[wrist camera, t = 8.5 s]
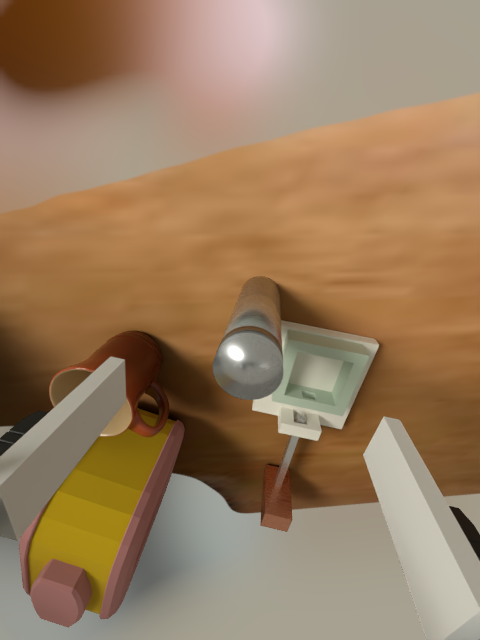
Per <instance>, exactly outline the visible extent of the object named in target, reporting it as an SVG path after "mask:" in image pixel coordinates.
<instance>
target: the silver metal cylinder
mask: <svg viewBox="0 0 480 640" xmlns="http://www.w3.org/2000/svg"><path fill="white" fill-rule="evenodd" d="M213 374H214V377H215V380H216V381H217V383H218V385H219V386H220V387H221V388H222V389H223V390H224V391H225V392H227V393H228V394H230V395H232V396H234V397H237V398H240V399H245V400H256V399H261V398H264V397H267V396H269V395H270V394H272V393H273V392H274V391H275V390H277V388H278V387H279V386H280V384H281V382H282V379H283V351H282V333H281V312H280V293H279V289H278V287H277V285H276V284H275V282H274V281H272V280H271V279H269V278H267V277H262V276H258V277H254V278H251V279H250V280H248V281H247V282H246V283H245V284H244V286H243V288H242V290H241V293H240V295H239V298H238V301H237V303H236V306H235V308H234V311H233V313H232V316H231V318H230V321H229V323H228V326H227V328H226V331H225V334H224V336H223V339H222V341H221V343H220V345H219V348H218V350H217V353H216V356H215V359H214V362H213Z"/></svg>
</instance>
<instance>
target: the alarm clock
mask: <svg viewBox="0 0 480 640" xmlns="http://www.w3.org/2000/svg"><path fill="white" fill-rule="evenodd" d="M137 409H138V408H137ZM138 411H139V413H140V415H141V418H142V419H143V421H144V422H145V423H146V424H148V425H150V426H152V427H154V426H155V424H156V421H157V418H158V415H156V414H153V413H150V412H147V411H144V410H141V409H138ZM184 429H185V428H184V426H183V423H182V422H181V421H179V420H177V421H173V420H170V419H168V418H167V421H166V423H165V425H164V427H163V429H162V430H161V431H160V432H159V433H158V434H157V435H155V436H153V437H143V436H141V435H139V434H137V433H135V432H133V431H131V430H130V429H127V430H126V431H125V432H123V433H122V434H120V435H118V436H113V437H99V436H98V438H97V439H96V440H95V442H94V443H93V444H92V446H91V447H90V448H89V449H88V451H87V452H86V453H85V455H84V456H83V457H82V458H81V460H80V461H79V462H78V464H77V465H76V466H75V467H74V469H73V470H72V471H71V473H70V474H69V475H68V476H67V478H66V479H65V480H64V482H63V483H62V484H61V486H60V487H59V488H58V489H57V491H56V492H55V493H54V495H53V496H52V497H51V498H50V500H49V501H48V502H47V504H46V505H45V506H44V507H43V509H42V510H41V511H40V513H39V514H38V515H37V516H36V518H35V519H34V520H33V522H32V523H31V524H30V526H29V527H28V528H27V529H26V531H25V532H24V533H23V535H22V536H21V538H20V543H19V550H20V561H21V571H22V582H23V588H24V589H25V591H26V593H27V594H29V595H30V596H31V599H32V603H33V606H34V608H35V610H36V612H37V614H38V615H39V616H40V618H41V619H44V620H47V621H50V622H54V623H56V624H59V625H63V626H66V627H70V626H71V625H73V624H74V623H76V622H77V621H79V619H80V618H81V617H82V615H83V613H84V611H85V610H88V611H91V612H95V613H98V614H100V618H101V619H108V618H109V617H111V616H112V615H113V614H114V613H116V611H117V610H118V608H119V607H120V605H121V603H122V602H123V599H124V597H125V595H126V592H127V590H128V587H129V585H130V582H131V580H132V577H133V574H134V572H135V569H136V567H137V564H138V561H139V559H140V556H141V554H142V551H143V549H144V546H145V543H146V541H147V538H148V536H149V533H150V530H151V528H152V525H153V522H154V520H155V517H156V514H157V512H158V509H159V507H160V504H161V501H162V499H163V496H164V493H165V491H166V488H167V485H168V482H169V479H170V477H171V474H172V471H173V468H174V465H175V462H176V459H177V456H178V452H179V449H180V446H181V443H182V440H183V437H184Z"/></svg>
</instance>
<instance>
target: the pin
mask: <svg viewBox="0 0 480 640" xmlns="http://www.w3.org/2000/svg"><path fill="white" fill-rule="evenodd" d="M295 422H296V423H301V424H304V422H305V415H304V414H299V413H297V416H296V419H295ZM298 439H299V437H297V436H293V435H290V437H289V440H288V442H287V445H286V448H285V451H284V454H283V457H282V460H281V463H280V466H279V467H276V466H271V465H267V464H266V467H265V471H264V474H263V484H262V506H261V526H265V527H269V528H273V529H277V530H282V531H286V532H287V531H288V528H289V526H290V524H291V521H292V507H291V488H290V470H289V469H288V466H289V464H290V461H291V458H292V455H293V453H294V450H295V447H296V444H297V442H298Z"/></svg>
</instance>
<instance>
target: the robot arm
mask: <svg viewBox="0 0 480 640" xmlns="http://www.w3.org/2000/svg"><path fill="white" fill-rule="evenodd" d="M125 402H126V380H125V360H124V359H120V358H115V357H110V358H108V359H107V360H106V361H105V362H104V363H103V364H102V365H101V366H100V367H98V368H97V369H96V370H95V371H94V372H93V373H92V374H91V375H90V376H89V377H87V378H86V379H85V380H84V381H83V382H82V383H81V384H80V385H79V386H78V387H76V388H75V389H74V390H73V391H72V392H71V393H70V394H69V395H68V396H66V397H65V398H64V399H63V400H62V401H61V402H60V403H59V404H58V405H57V406H55V407H54V408H53V409H52V410H51V411H50V412H49V413H47V412H43V411H37V412H35V413H33V414H31V415H29V416H27V417H25V418H24V419H22V420H21V421H20V422H19V423H17V424H16V425H15V426H14V427H13V428H12V429H10V431H9V432H7V433H5V434H4V435H3V436H2V437H1V438H0V536H2V537H5V538H9V539H13V540H16V541H18V540H19V538H20V537H21V536H22V535H23V533H24V532H25V531H26V529H27V528H28V527H29V526H30V524H31V523H32V522H33V520H34V519H35V518H36V516H37V515H38V514H39V513H40V511H41V510H42V509H43V507H44V506H45V505H46V504H47V502H48V501H49V500H50V498H51V497H52V496H53V495H54V493H55V492H56V491H57V489H58V488H59V487H60V486H61V484H62V483H63V482H64V480H65V479H66V478H67V476H68V475H69V474H70V473H71V471H72V470H73V469H74V467H75V466H76V465H77V464H78V462H79V461H80V460H81V458H82V457H83V456H84V455H85V453H86V452H87V451H88V449H89V448H90V447H91V446H92V444H93V443H94V442H95V440H96V439H97V438H98V436H99V435H100V434H101V433H102V431H103V430H104V429H105V427H106V426H107V425H108V424H109V422H110V421H111V420H112V418H113V417H114V416H115V415H116V413H117V412H118V411H119V409H120V408H121V407H122V405H123V404H124V403H125ZM363 456H364V458H365V461H366V464H367V467H368V470H369V473H370V476H371V479H372V482H373V485H374V488H375V491H376V494H377V497H378V499H379V502H380V505H381V508H382V511H383V514H384V517H385V520H386V523H387V526H388V529H389V532H390V535H391V538H392V540H393V543H394V546H395V549H396V552H397V555H398V558H399V561H400V564H401V567H402V570H403V573H404V576H405V579H406V581H407V584H408V587H409V590H410V593H411V596H412V599H413V602H414V605H415V608H416V611H417V613H418V617H419V620H420V623H421V626H422V628H423V631H424V634H425V637H426V640H480V535H479V533H478V531H477V529H476V528H475V526H474V525H473V524H472V522H471V521H470V520H469V519H468V518H467V517H466V516H465V515H464V514H463V512H462V511H461V510H460V509H459V508H455V507H451V506H448V504H447V502H446V501H445V499H444V497H443V495H442V494H441V492H440V490H439V488H438V486H437V485H436V483H435V481H434V479H433V478H432V476H431V474H430V472H429V471H428V469H427V467H426V465H425V464H424V462H423V460H422V458H421V456H420V455H419V453H418V451H417V449H416V448H415V446H414V444H413V442H412V441H411V439H410V437H409V435H408V433H407V432H406V430H405V428H404V426H403V425H402V423H401V421H400V420H398V419H393V418H389V417H383V419H382V421H381V423H380V424H379V426H378V428H377V430H376V432H375V434H374V436H373V438H372V439H371V441H370V443H369V445H368V447H367V449H366V451H365V453H364V454H363Z"/></svg>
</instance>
